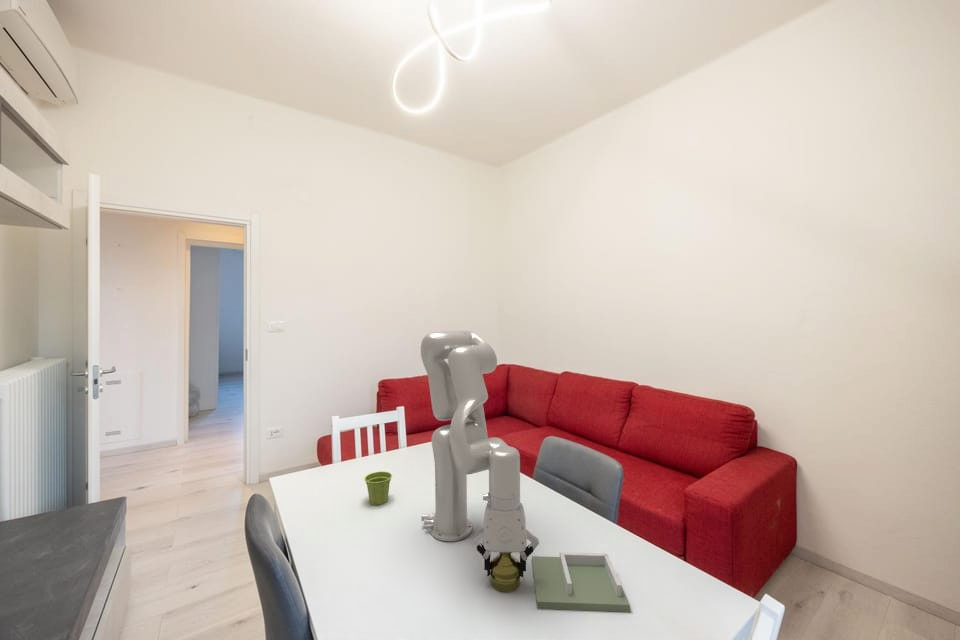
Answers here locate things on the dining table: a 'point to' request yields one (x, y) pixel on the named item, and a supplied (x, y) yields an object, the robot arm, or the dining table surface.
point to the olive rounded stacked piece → (505, 572)
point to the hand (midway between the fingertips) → (505, 572)
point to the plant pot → (378, 487)
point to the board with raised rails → (578, 583)
